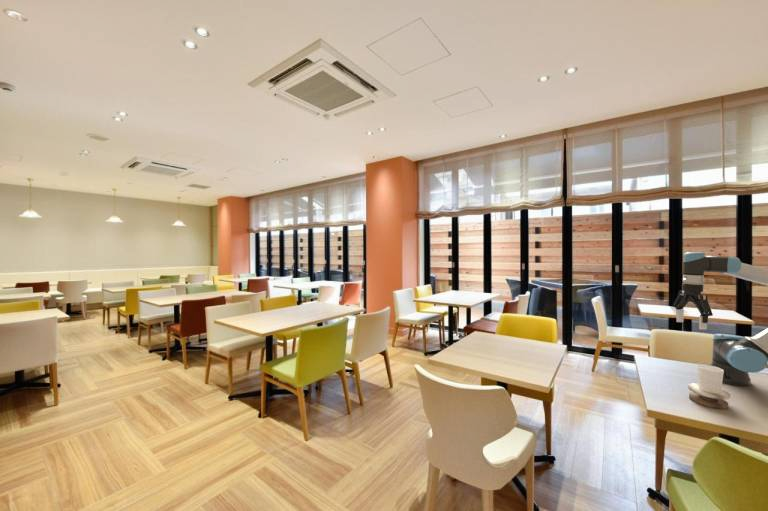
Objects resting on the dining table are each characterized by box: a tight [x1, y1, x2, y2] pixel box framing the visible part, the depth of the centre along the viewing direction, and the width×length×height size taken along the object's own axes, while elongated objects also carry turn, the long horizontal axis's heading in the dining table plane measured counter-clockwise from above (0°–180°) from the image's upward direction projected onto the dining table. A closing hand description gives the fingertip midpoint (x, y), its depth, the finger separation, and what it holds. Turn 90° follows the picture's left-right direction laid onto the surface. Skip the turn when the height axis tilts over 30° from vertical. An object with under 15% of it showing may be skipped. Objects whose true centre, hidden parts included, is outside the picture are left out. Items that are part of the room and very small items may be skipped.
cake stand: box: [687, 382, 731, 410], centre depth 139 cm, size 13×13×6 cm
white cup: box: [697, 364, 724, 394], centre depth 138 cm, size 8×8×10 cm
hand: (690, 325), depth 157 cm, fingers open, 13 cm apart
